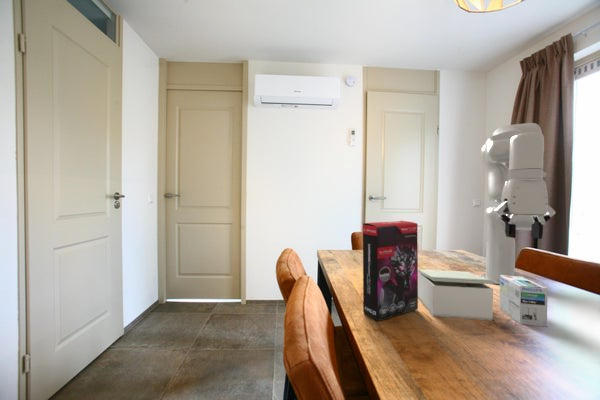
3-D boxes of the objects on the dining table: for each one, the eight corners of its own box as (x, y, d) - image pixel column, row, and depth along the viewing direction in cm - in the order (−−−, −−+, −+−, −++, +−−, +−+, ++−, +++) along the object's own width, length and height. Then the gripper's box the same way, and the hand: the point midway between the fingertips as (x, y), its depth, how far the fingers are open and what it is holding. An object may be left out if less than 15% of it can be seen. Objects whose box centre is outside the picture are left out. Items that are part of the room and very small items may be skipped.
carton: (467, 300, 86) (467, 274, 86) (492, 320, 73) (493, 289, 72) (417, 297, 89) (418, 271, 88) (432, 316, 75) (433, 285, 75)
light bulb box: (548, 327, 69) (549, 288, 69) (519, 324, 71) (520, 286, 70) (522, 310, 80) (523, 275, 79) (498, 307, 81) (498, 274, 81)
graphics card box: (377, 323, 70) (378, 224, 70) (360, 312, 76) (361, 222, 76) (418, 310, 78) (420, 222, 78) (400, 302, 84) (401, 220, 84)
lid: (467, 274, 86) (467, 271, 86) (493, 284, 72) (493, 280, 72) (418, 271, 88) (418, 269, 88) (433, 280, 75) (433, 277, 75)
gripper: (547, 177, 77) (545, 236, 77) (485, 177, 79) (483, 234, 80) (570, 175, 69) (568, 241, 70) (501, 175, 72) (499, 238, 72)
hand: (523, 237), depth 75 cm, fingers open, 6 cm apart
